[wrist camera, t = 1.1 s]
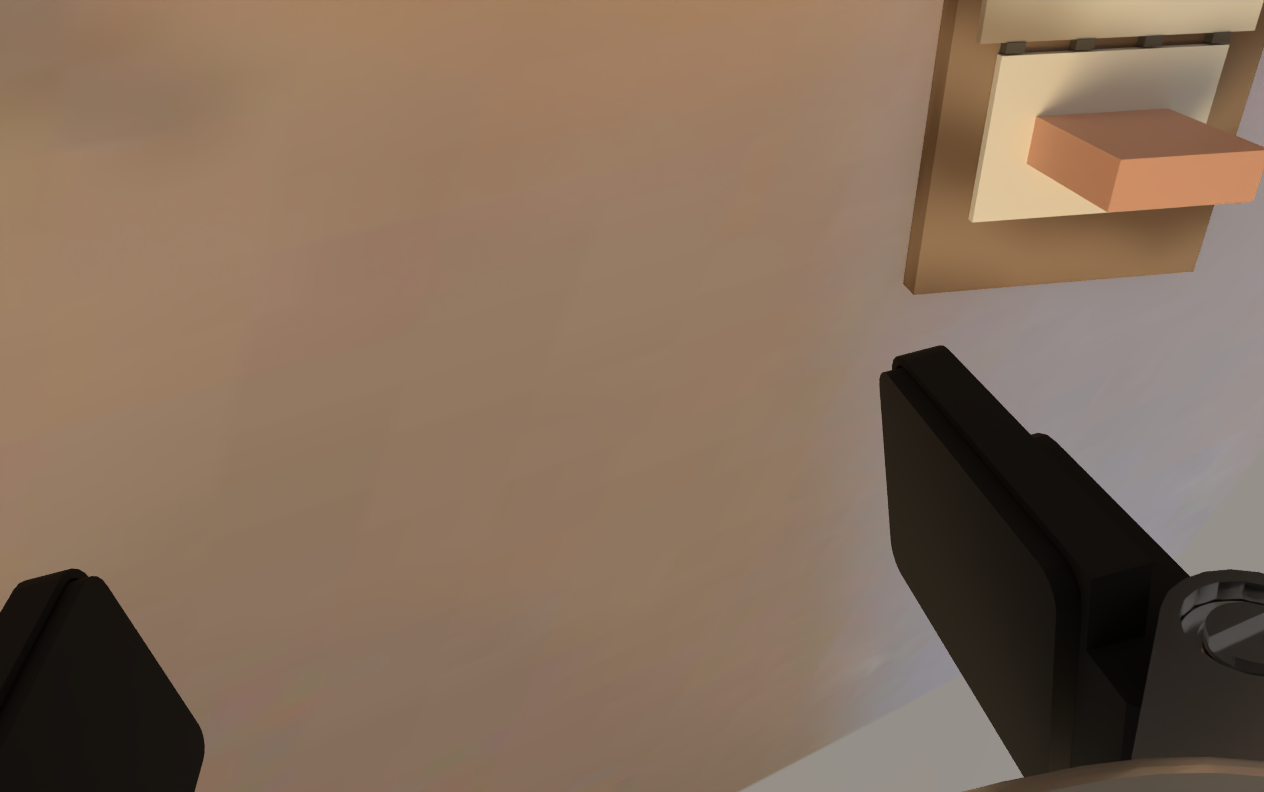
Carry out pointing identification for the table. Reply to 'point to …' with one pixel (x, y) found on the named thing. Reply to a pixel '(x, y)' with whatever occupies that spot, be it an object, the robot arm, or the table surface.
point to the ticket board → (1075, 244)
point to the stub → (1108, 134)
